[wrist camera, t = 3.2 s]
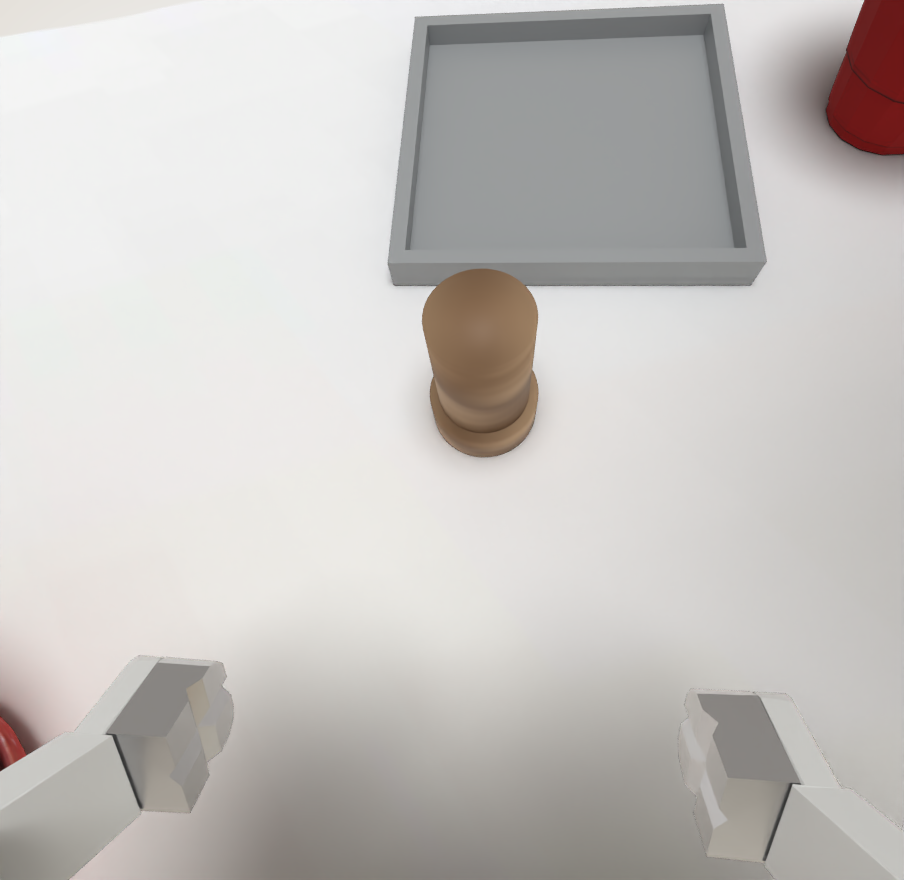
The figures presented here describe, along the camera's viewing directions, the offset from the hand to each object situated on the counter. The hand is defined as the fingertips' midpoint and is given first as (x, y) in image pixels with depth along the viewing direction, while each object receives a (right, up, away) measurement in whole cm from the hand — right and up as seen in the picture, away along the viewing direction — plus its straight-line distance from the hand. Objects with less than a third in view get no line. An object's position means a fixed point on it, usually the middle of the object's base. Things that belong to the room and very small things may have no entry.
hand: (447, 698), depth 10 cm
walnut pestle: (+2, +6, +17) cm, 18 cm away
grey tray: (+6, +21, +22) cm, 31 cm away
